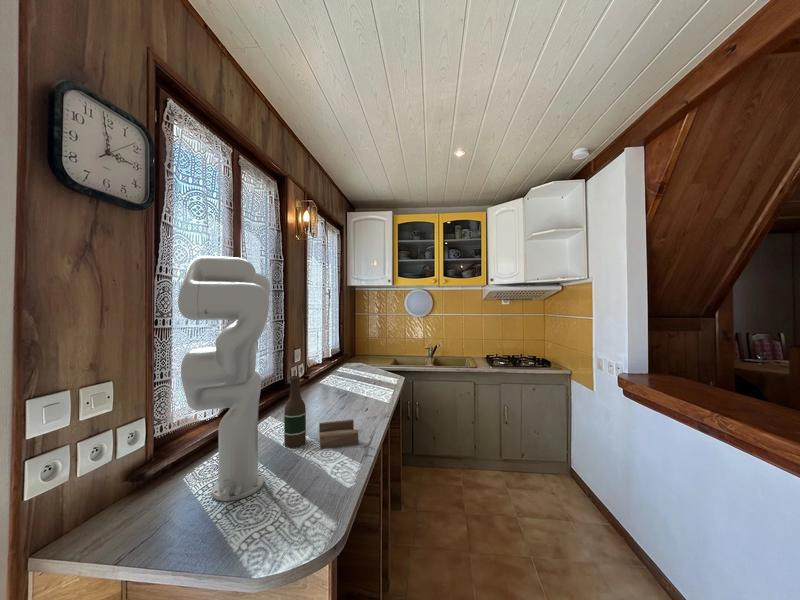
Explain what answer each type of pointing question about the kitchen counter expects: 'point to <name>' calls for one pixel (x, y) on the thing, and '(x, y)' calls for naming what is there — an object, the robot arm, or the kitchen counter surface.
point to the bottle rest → (337, 434)
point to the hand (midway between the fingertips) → (241, 370)
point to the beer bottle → (295, 416)
